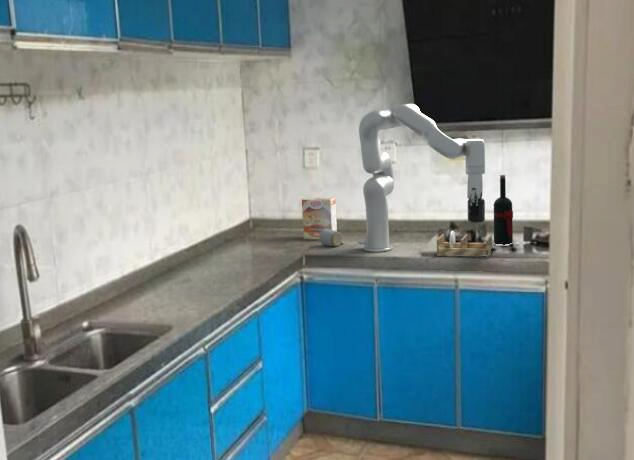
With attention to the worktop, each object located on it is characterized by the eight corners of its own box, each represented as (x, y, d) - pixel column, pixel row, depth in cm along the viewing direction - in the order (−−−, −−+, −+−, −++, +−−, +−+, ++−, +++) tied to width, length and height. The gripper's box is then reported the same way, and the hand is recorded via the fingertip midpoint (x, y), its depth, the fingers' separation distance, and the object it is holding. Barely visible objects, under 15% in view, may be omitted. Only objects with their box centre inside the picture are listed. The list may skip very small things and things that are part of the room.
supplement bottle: (465, 222, 289) (465, 193, 287) (470, 219, 295) (469, 190, 293) (482, 223, 286) (482, 193, 284) (486, 220, 292) (486, 190, 290)
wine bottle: (502, 248, 300) (501, 177, 295) (490, 244, 310) (489, 175, 305) (519, 246, 302) (518, 175, 297) (506, 242, 312) (506, 173, 307)
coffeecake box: (303, 239, 344) (300, 199, 340) (309, 236, 350) (306, 197, 347) (332, 240, 338) (330, 199, 335) (337, 237, 345) (335, 197, 341)
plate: (449, 253, 293) (449, 232, 291) (453, 249, 301) (453, 228, 299) (451, 253, 292) (451, 232, 291) (455, 249, 300) (455, 228, 299)
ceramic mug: (332, 248, 319) (331, 231, 318) (319, 246, 325) (318, 229, 324) (348, 244, 326) (348, 228, 325) (336, 242, 332) (335, 226, 331)
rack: (437, 255, 293) (436, 239, 292) (442, 249, 304) (442, 234, 303) (487, 257, 286) (487, 240, 285) (491, 250, 297) (491, 234, 295)
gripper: (469, 168, 296) (470, 210, 299) (462, 172, 280) (463, 217, 284) (487, 167, 294) (488, 210, 297) (481, 172, 278) (482, 217, 281)
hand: (476, 213), depth 290 cm, fingers closed on supplement bottle, 6 cm apart
